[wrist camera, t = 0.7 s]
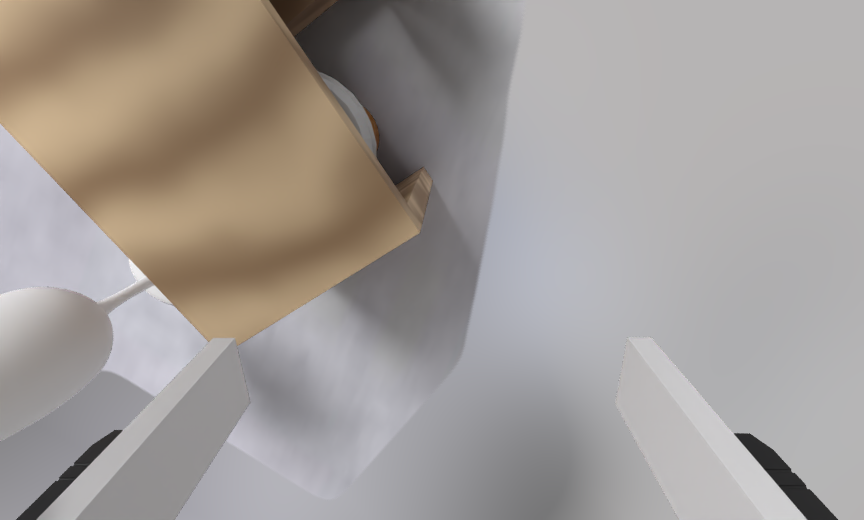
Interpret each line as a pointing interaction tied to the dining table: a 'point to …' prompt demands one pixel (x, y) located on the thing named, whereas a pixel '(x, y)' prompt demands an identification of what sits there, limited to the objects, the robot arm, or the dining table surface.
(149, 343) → the dining table surface
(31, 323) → the wineglass
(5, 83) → the wooden storage bin
